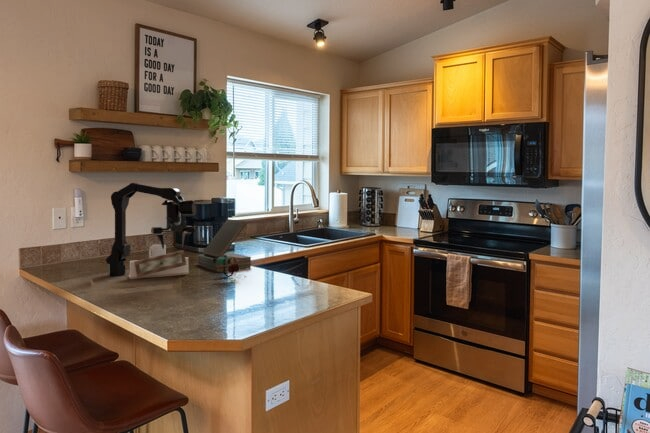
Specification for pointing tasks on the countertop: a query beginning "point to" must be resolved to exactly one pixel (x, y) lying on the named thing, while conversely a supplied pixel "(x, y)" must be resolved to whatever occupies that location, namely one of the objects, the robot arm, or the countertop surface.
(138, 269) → the picture frame
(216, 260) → the binoculars
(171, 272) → the long wooden tray
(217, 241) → the open lidded box
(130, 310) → the countertop surface
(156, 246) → the mug
